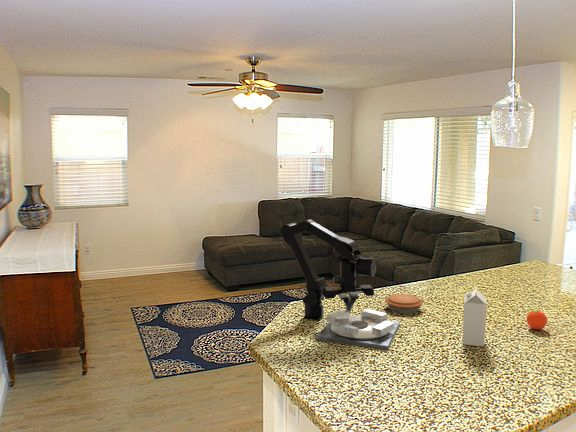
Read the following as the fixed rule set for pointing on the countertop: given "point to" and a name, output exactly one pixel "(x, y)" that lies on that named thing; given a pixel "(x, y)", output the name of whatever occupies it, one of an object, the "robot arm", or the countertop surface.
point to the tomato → (536, 319)
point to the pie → (404, 303)
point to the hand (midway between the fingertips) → (348, 313)
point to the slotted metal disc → (360, 324)
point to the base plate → (371, 343)
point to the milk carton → (474, 319)
